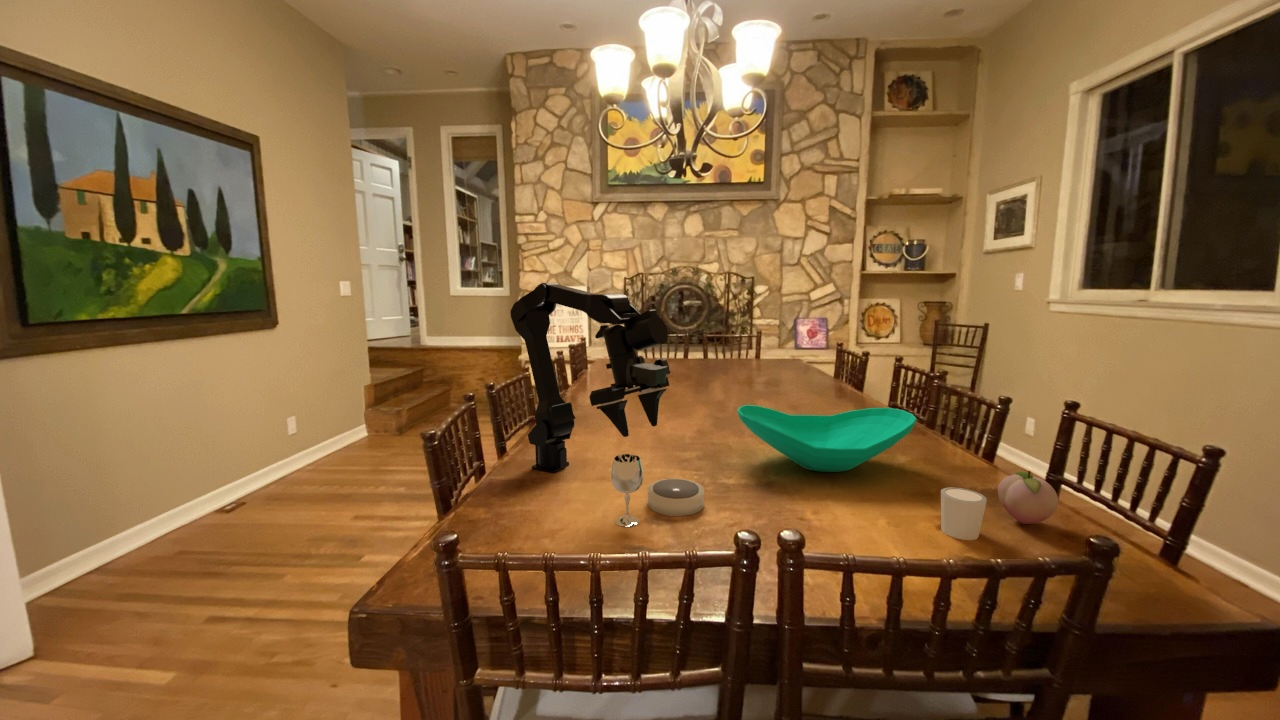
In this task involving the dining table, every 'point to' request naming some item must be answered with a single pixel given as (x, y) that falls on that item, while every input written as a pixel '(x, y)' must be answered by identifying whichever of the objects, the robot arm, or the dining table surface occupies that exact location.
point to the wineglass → (627, 482)
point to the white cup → (962, 512)
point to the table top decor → (829, 435)
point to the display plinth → (675, 497)
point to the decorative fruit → (1027, 497)
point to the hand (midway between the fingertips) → (640, 431)
